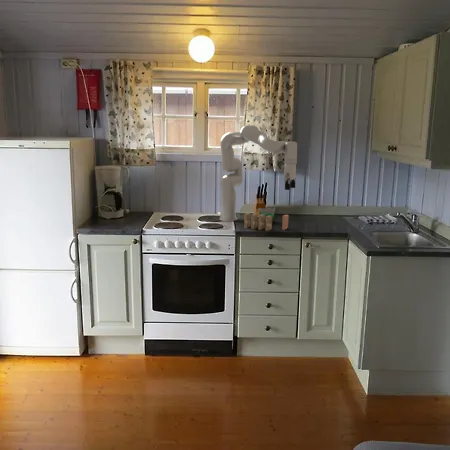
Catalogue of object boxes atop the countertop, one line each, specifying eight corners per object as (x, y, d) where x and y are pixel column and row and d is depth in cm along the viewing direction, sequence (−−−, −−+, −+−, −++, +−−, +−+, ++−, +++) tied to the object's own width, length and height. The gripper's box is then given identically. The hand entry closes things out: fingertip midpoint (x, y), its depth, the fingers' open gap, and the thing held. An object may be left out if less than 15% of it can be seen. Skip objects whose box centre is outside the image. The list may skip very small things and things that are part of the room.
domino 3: (258, 229, 299) (258, 215, 297) (261, 228, 303) (262, 214, 301) (261, 230, 298) (261, 216, 296) (264, 228, 302) (264, 214, 300)
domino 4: (265, 230, 296) (265, 216, 294) (268, 229, 301) (269, 215, 299) (268, 231, 296) (268, 217, 294) (271, 229, 300) (272, 215, 298)
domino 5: (282, 229, 300) (282, 216, 298) (285, 228, 304) (285, 214, 302) (285, 230, 299) (285, 216, 297) (287, 228, 303) (288, 215, 301)
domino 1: (244, 227, 304) (244, 214, 302) (247, 226, 308) (247, 212, 306) (246, 228, 303) (247, 214, 301) (250, 226, 307) (250, 213, 305)
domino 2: (251, 228, 301) (251, 214, 299) (254, 227, 305) (254, 213, 303) (253, 229, 300) (254, 215, 298) (257, 227, 304) (257, 213, 302)
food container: (262, 224, 314) (262, 209, 312) (258, 222, 320) (258, 207, 318) (278, 223, 319) (279, 208, 317) (274, 221, 324) (274, 206, 322)
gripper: (289, 160, 304) (289, 186, 307) (279, 162, 289) (279, 190, 292) (300, 160, 300) (300, 187, 304) (291, 162, 285) (290, 190, 289)
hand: (290, 188), depth 298 cm, fingers open, 9 cm apart
